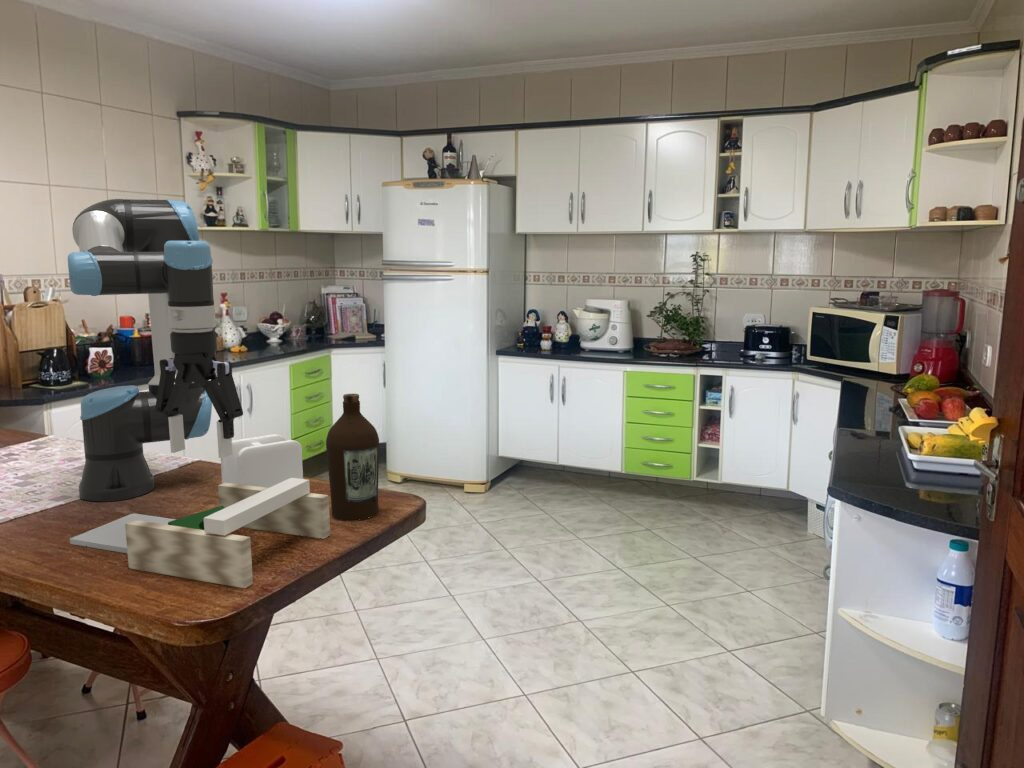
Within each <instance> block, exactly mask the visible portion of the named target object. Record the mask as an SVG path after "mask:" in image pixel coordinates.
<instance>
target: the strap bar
mask: <svg viewBox="0 0 1024 768" xmlns="http://www.w3.org/2000/svg"><path fill="white" fill-rule="evenodd" d="M310 487H311V486H310V479H305V478H303V479H298V478H290V479H287V480H285V481H283V482H281V483H279V484H276V485H274V486H272V487H270V488H268V489H266V490H263V491H261V492H259V493H257V494H255V495H252V496H250V497H248V498H246V499H244V500H242V501H239V502H237V503H235V504H233V505H231V506H228V507H226V508H224V509H222V510H220V511H218V512H215V513H213V514H211V515H209V516H207V517H204V532H205V533H211V534H218V535H224V536H225V535H227V534H232V532H235V531H237V530H239V529H240V528H243V527H242V526H244V525H246V524H248V523H250V522H252V521H254V520H256V519H258V518H260V517H262V516H264V515H266V514H268V513H270V512H272V511H274V510H276V509H278V508H280V507H282V506H284V505H286V504H288V503H290V502H292V501H294V500H296V499H298V498H300V497H302V496H304V495H306V494H308V493H311V492H310V491H311V489H310Z"/></svg>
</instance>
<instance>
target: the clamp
mask: <svg viewBox="0 0 1024 768" xmlns="http://www.w3.org/2000/svg"><path fill="white" fill-rule="evenodd" d="M224 508H225V507H224V506H219V505H218V506H215V507H212V508H210V509H206V510H204V511H200V512H199V511H198V512H197V513H194V514H190V515H186V516H184V517H181V518H177V519H176V520H173V521H170V522H168V525H173V526H179V527H186V528H193V529H200V530H204V517H207V516H209V515H211V514H213V513H215V512H218V511H220V510H222V509H224Z"/></svg>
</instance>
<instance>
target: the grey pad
mask: <svg viewBox="0 0 1024 768" xmlns="http://www.w3.org/2000/svg"><path fill="white" fill-rule="evenodd" d="M133 520H139V521H146V522H152V523H159V524H166V525H168V522H170V521H173V520H177V519H175V518H167V517H162V516H155V515H149V514H148V515H147V514H140V513H134V512H133V513H130V514H128V515H125V516H123V517H120V518H118V519H115V520H113V521H110V522H108V523H105V524H103V525H100V526H99V527H98V526H97V527H96V528H93V529H91V530H87V531H86V532H83V533H80V534H77V535H75V536H73V537H70V538H69V544H70V545H76V546H80V547H86V546H87V547H86V548H92V549H97V550H98V549H99V550H104V551H105V550H106V551H110V552H116V553H122V554H128V553H127V541H126V530H125V523H128V522H130V521H133Z"/></svg>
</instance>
